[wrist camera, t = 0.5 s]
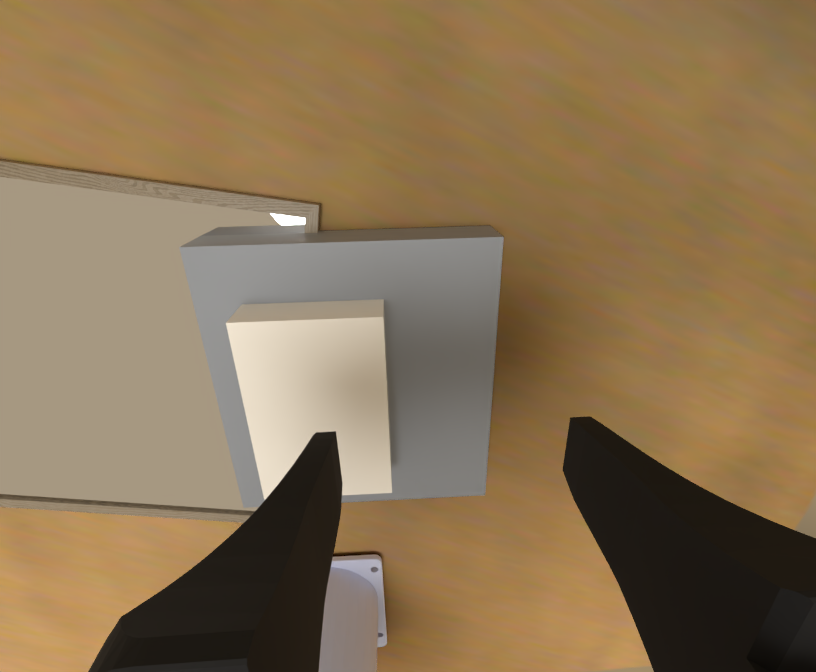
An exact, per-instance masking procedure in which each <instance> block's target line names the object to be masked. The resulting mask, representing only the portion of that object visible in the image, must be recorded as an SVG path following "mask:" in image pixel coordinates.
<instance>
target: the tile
mask: <svg viewBox="0 0 816 672" xmlns="http://www.w3.org/2000/svg"><path fill="white" fill-rule="evenodd" d="M226 326H227V331H228V336H229V340H230V345H231V349H232V354H233V359H234V363H235V368H236V372H237V377H238V382H239V386H240V391H241V395H242V400H243V405H244V409H245V414H246V418H247V423H248V427H249V432H250V437H251V441H252V446H253V450H254V455H255V460H256V464H257V469H258V473H259V478H260V483H261V487H262V492H263V496H264V499H266V498H267V497H268V496H269V495H270V493H271V492H272V491H273V490H274V489H275V488H276V486H277V485H278V484H279V483H280V481H281V480H282V479H283V477H284V476H285V475H286V473H287V472H288V471H289V469H290V468H291V467H292V465H293V464H294V463H295V461H296V460H297V458H298V457H299V456H300V454H301V453H302V451H303V450H304V448H305V447H306V445H307V444H308V442H309V441H310V439H311V437H312V436H313V435H314V434H315V433H316V432H333V431H336V436H337V444H338V452H339V459H340V467H341V475H342V483H343V484H342V495H360V494H380V493H392V462H391V442H390V421H389V400H388V379H387V359H386V338H385V317H384V299H377V300H350V301H322V302H295V303H267V304H242V305H241V306H240V307H239V308H238V309H237V310H236V312H235V313H234V314H233V315H232V316H231V317H230V319H229V320H228V321H227V322H226Z"/></svg>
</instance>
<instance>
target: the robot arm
mask: <svg viewBox="0 0 816 672" xmlns="http://www.w3.org/2000/svg"><path fill="white" fill-rule="evenodd" d="M563 472H564V475H565V477H566V480H567V483H568V486H569V488H570V491H571V493H572V496H573V498H574V501H575V502H576V504H577V506H578V508H579V510H580V512H581V514H582V516H583V518H584V520H585V521H586V523H587V525H588V527H589V529H590V531H591V533H592V534H593V536H594V538H595V540H596V542H597V544H598V545H599V547H600V549H601V551H602V553H603V555H604V556H605V558H606V560H607V562H608V564H609V566H610V568H611V569H612V572H613V574H614V576H615V578H616V580H617V582H618V584H619V586H620V588H621V591H622V593H623V595H624V598H625V600H626V602H627V605H628V607H629V610H630V612H631V614H632V617H633V619H634V622H635V624H636V627H637V629H638V632H639V634H640V637H641V639H642V642H643V644H644V647H645V649H646V652H647V654H648V657H649V659H650V662H651V665H652V668H653V670H654V672H816V538H813V537H810V536H808V535H805V534H802V533H800V532H797V531H795V530H792V529H790V528H787V527H785V526H782V525H780V524H777V523H775V522H772V521H770V520H768V519H766V518H763V517H761V516H759V515H757V514H754V513H752V512H750V511H748V510H745V509H743V508H741V507H739V506H737V505H735V504H733V503H731V502H728V501H726V500H724V499H722V498H721V497H719V496H717V495H715V494H713V493H711V492H709V491H707V490H705V489H703V488H701V487H699V486H698V485H696V484H694V483H692V482H691V481H689V480H687V479H685V478H684V477H682V476H680V475H679V474H677V473H675V472H674V471H672V470H670V469H669V468H667V467H665V466H664V465H662V464H661V463H659V462H657V461H656V460H654V459H653V458H651V457H650V456H648V455H647V454H645V453H644V452H642V451H641V450H639V449H638V448H636V447H635V446H633V445H632V444H630V443H629V442H627V441H626V440H624V439H623V438H621V437H620V436H619V435H617V434H616V433H614V432H613V431H611V430H610V429H608V428H607V427H605V426H604V425H603V424H601V423H600V422H598V421H596V420H595V419H593V418H592V417H574V418H570V424H569V431H568V438H567V444H566V451H565V458H564V465H563ZM342 484H343V483H342V475H341V467H340V459H339V452H338V444H337V436H336V431H333V432H316V433H315V434H314V435H313V436H312V437H311V439H310V441H309V442H308V444H307V445H306V447H305V448H304V450H303V451H302V453H301V454H300V456H299V457H298V458H297V460H296V461H295V463H294V464H293V465H292V467H291V468H290V469H289V471H288V472H287V473H286V475H285V476H284V477H283V479H282V480H281V481H280V483H279V484H278V485H277V486H276V488H275V489H274V490H273V491H272V492H271V493H270V495H269V496H268V497H267V498H266V499H265V501H264V502H263V503H262V504H261V505H260V506H259V507H258V509H257V510H256V511H255V512H254V513H253V514H252V515H251V516H250V517H249V518H248V519H247V520H246V521H245V522H244V523H243V524H242V525H241V526H240V527H239V528H238V529H237V530H236V531H235V532H234V533H233V534H232V535H231V536H230V537H229V538H228V539H226V540H225V541H224V542H223V543H222V544H221V545H220V546H218V547H217V548H216V549H215V550H214V551H213V552H212V553H211V554H209V555H208V556H207V557H206V558H205V559H203V560H202V561H201V562H199V563H198V564H197V565H196V566H194V567H193V568H192V569H191V570H189V571H188V572H187V573H185V574H184V575H183V576H181V577H180V578H179V579H177V580H176V581H174V582H173V583H172V584H170V585H169V586H167V587H166V588H165V589H163V590H162V591H160V592H159V593H157V594H156V595H154V596H153V597H151V598H150V599H148V600H147V601H145V602H144V603H142V604H141V605H139V606H137V607H136V608H134V609H133V610H131V611H130V612H128V613H127V614H125V615H123V616H122V617H121V618H120V619H119V621H118V623H117V624H116V626H115V627H114V629H113V630H112V632H111V633H110V635H109V636H108V638H107V639H106V641H105V643H104V645H103V646H102V648H101V650H100V652H99V653H98V655H97V657H96V659H95V661H94V663H93V664H92V666H91V668H90V670H89V672H377V647H383V646H385V645H386V644H387V629H386V614H385V600H384V585H383V571H382V559H381V557H380V556H379V555H375V554H373V555H355V556H337V557H333V553H334V547H335V542H336V537H337V531H338V526H339V520H340V514H341V500H342Z"/></svg>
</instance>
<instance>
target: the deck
mask: <svg viewBox="0 0 816 672" xmlns="http://www.w3.org/2000/svg"><path fill="white" fill-rule="evenodd" d="M503 240H504V237H503V236H502V235H501V234H500V233H498V232H497V231H496V230H495V229H494V228H493V227H491V226H459V227H426V228H394V229H361V230H329V231H319V232H318V233H278V234H246V235H213V236H199V237H198V238H196V239H194V240H192V241H190V242H188V243H186V244H184V245H182V246H181V247H179V248H180V253H181V257H182V261H183V265H184V269H185V273H186V277H187V281H188V285H189V289H190V293H191V297H192V301H193V305H194V309H195V313H196V317H197V321H198V325H199V329H200V333H201V337H202V342H203V346H204V350H205V354H206V358H207V362H208V366H209V370H210V374H211V378H212V382H213V386H214V390H215V394H216V398H217V402H218V406H219V410H220V414H221V418H222V422H223V426H224V430H225V435H226V439H227V443H228V447H229V451H230V455H231V459H232V463H233V467H234V471H235V475H236V479H237V483H238V487H239V491H240V495H241V499H242V503H243V507H244V508H248V507H259V506H260V505H261V504H262V503H263V502H264V501H265V499H264V496H263V492H262V487H261V483H260V478H259V473H258V469H257V464H256V460H255V455H254V450H253V446H252V441H251V437H250V432H249V427H248V423H247V418H246V414H245V409H244V405H243V400H242V395H241V391H240V386H239V382H238V377H237V372H236V368H235V363H234V359H233V354H232V349H231V345H230V340H229V336H228V331H227V326H226V322H227V321H228V320H229V319H230V317H231V316H232V315H233V314H234V313H235V312H236V310H237V309H238V308H239V307H240V306H241V305H242V304H267V303H295V302H322V301H350V300H377V299H384V317H385V338H386V359H387V379H388V400H389V421H390V442H391V462H392V493H380V494H360V495H342V500H341V503H344V502H363V501H383V500H402V499H421V498H440V497H460V496H479V495H485V490H486V476H487V462H488V448H489V434H490V421H491V407H492V393H493V379H494V365H495V351H496V337H497V323H498V309H499V295H500V282H501V268H502V254H503Z"/></svg>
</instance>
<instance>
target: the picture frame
mask: <svg viewBox="0 0 816 672" xmlns="http://www.w3.org/2000/svg"><path fill="white" fill-rule="evenodd" d="M320 209H321V204H320V203H313V202H306V201H298V200H291V199H284V198H277V197H270V196H263V195H255V194H248V193H241V192H234V191H227V190H219V189H212V188H205V187H198V186H191V185H183V184H176V183H169V182H162V181H155V180H147V179H140V178H133V177H126V176H119V175H111V174H104V173H97V172H90V171H83V170H75V169H68V168H61V167H54V166H47V165H40V164H32V163H25V162H18V161H11V160H4V159H0V507H10V508H25V509H41V510H56V511H72V512H87V513H102V514H118V515H133V516H149V517H164V518H180V519H195V520H211V521H226V522H241V523H244V522H245V521H246V520H247V519H248V518H249V517H250V516H251V515H252V514H253V513H254V512H255V511H256V510H257V509H258V507H248V508H244V507H243V503H242V499H241V495H240V491H239V487H238V483H237V479H236V475H235V471H234V467H233V463H232V459H231V455H230V451H229V447H228V443H227V439H226V435H225V430H224V426H223V422H222V418H221V414H220V410H219V406H218V402H217V398H216V394H215V390H214V386H213V382H212V378H211V374H210V370H209V366H208V362H207V358H206V354H205V350H204V346H203V342H202V337H201V333H200V329H199V325H198V321H197V317H196V313H195V309H194V305H193V301H192V297H191V293H190V289H189V285H188V281H187V277H186V273H185V269H184V265H183V261H182V257H181V253H180V248H179V247H181V246H182V245H184V244H186V243H188V242H190V241H192V240H194V239H196V238H198V237H199V236H213V235H246V234H278V233H318V232H319V226H320Z"/></svg>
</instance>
